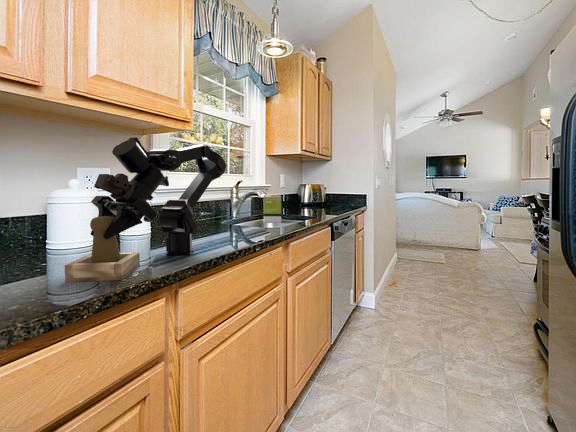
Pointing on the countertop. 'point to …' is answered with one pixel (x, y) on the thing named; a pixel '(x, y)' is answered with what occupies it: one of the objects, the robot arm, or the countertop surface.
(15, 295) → the countertop surface
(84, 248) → the countertop surface
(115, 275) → the wooden tray
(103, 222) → the brown toast slice
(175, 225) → the robot arm
